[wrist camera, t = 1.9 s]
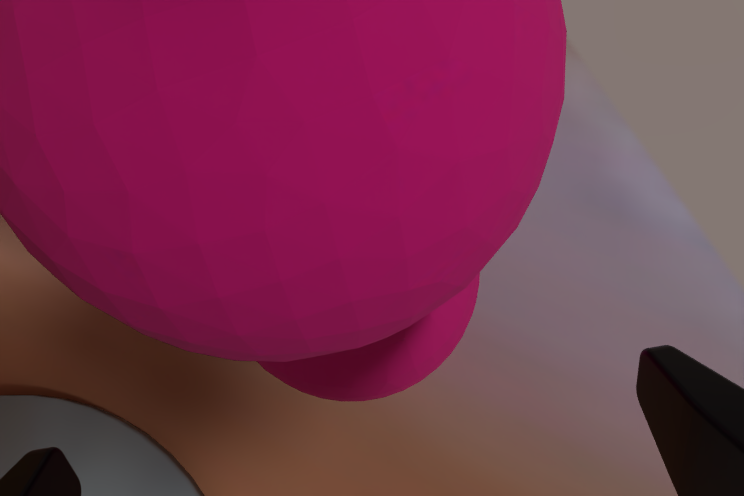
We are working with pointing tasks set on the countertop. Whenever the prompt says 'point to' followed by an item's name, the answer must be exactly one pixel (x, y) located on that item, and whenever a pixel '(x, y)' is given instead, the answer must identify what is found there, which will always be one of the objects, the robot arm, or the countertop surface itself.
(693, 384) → the robot arm
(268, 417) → the countertop surface
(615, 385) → the countertop surface
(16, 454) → the disc
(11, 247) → the countertop surface
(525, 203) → the pepper mill
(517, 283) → the countertop surface
